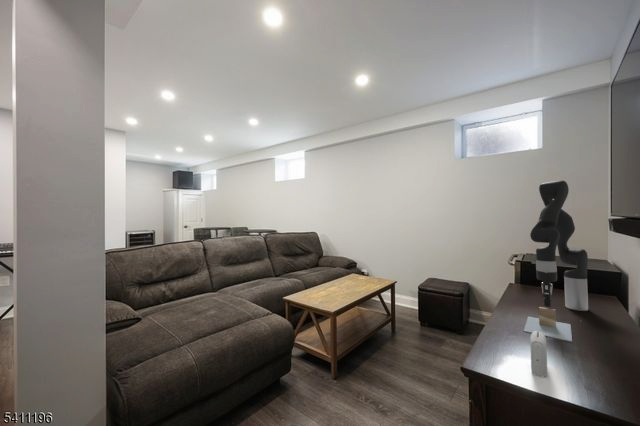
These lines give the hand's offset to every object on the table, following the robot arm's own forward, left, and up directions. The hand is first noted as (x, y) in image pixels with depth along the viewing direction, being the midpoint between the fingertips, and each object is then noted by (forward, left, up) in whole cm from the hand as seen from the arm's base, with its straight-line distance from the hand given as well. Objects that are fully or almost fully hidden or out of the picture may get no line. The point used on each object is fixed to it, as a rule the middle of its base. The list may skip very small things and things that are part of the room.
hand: (547, 303), depth 126 cm
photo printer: (+47, -1, -11) cm, 48 cm away
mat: (+3, 0, -11) cm, 11 cm away
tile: (+1, 0, -10) cm, 10 cm away
